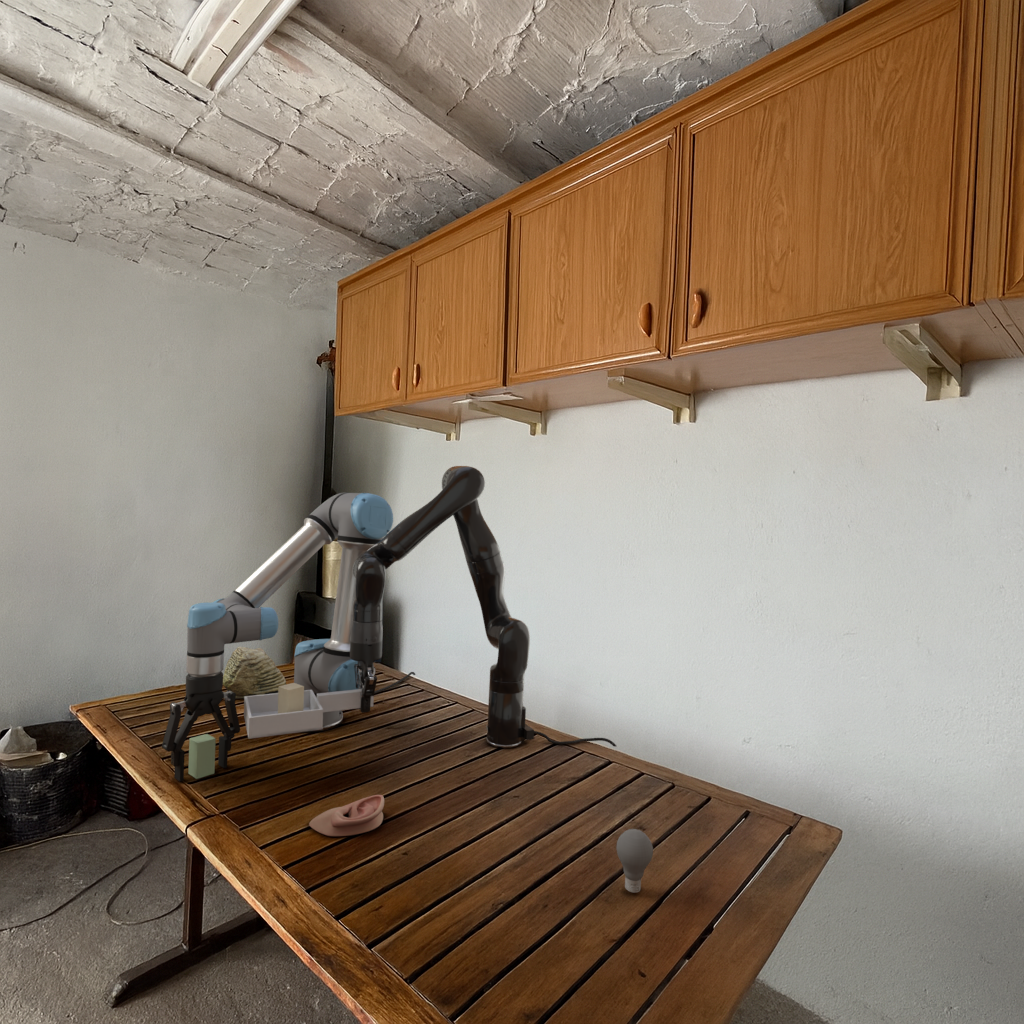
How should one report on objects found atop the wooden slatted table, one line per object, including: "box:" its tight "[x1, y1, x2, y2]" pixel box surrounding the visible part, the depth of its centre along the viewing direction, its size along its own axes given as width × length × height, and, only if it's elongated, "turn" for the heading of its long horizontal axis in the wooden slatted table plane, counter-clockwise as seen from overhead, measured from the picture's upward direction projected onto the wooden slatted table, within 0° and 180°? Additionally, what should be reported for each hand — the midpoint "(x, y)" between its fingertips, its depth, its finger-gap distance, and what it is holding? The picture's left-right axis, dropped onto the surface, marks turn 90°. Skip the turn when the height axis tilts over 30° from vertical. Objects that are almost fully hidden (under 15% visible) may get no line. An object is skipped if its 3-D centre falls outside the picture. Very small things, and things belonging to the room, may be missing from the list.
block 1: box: [187, 733, 217, 780], centre depth 142 cm, size 4×4×8 cm
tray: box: [243, 689, 375, 740], centre depth 147 cm, size 28×15×6 cm, turn 116°
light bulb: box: [615, 828, 654, 894], centre depth 106 cm, size 6×6×10 cm
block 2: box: [278, 682, 304, 714], centre depth 143 cm, size 4×4×8 cm
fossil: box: [223, 646, 287, 699], centre depth 198 cm, size 9×18×15 cm, turn 132°
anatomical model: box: [308, 794, 385, 837], centre depth 124 cm, size 13×4×12 cm
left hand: (201, 772), depth 142 cm, fingers open, 9 cm apart
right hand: (364, 710), depth 152 cm, fingers closed on tray
